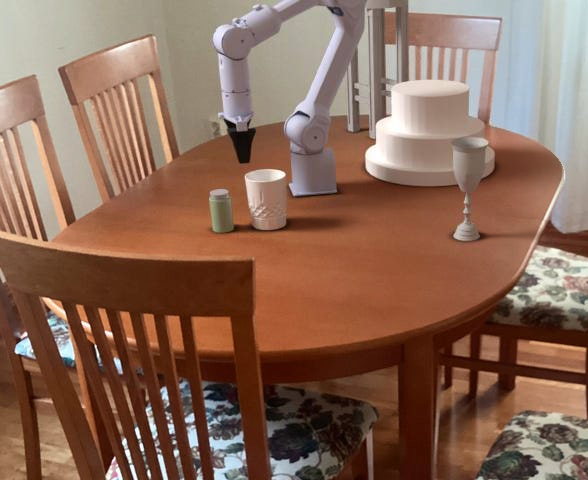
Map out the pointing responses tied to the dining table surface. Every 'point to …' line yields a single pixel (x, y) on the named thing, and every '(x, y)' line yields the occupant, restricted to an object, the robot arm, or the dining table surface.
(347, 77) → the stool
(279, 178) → the white cup
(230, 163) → the dining table surface
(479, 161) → the chalice
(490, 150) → the cake
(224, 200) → the salt shaker
